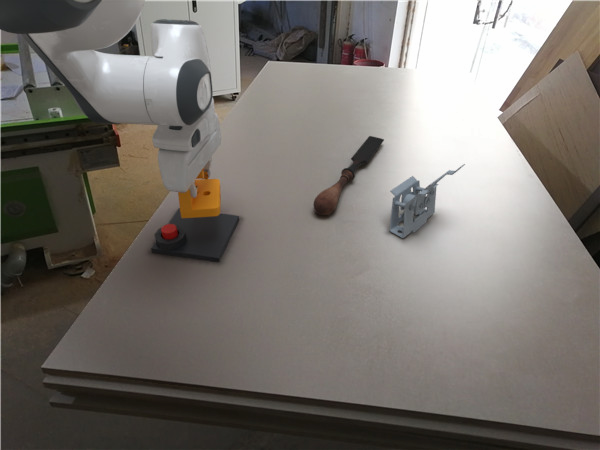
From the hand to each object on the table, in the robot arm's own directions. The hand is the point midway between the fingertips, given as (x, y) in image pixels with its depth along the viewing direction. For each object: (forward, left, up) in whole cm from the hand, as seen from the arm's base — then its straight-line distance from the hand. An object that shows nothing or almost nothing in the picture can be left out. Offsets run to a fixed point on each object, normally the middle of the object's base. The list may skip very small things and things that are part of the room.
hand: (199, 186), depth 79 cm
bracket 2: (+29, -35, -12) cm, 47 cm away
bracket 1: (0, 0, -5) cm, 5 cm away
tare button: (-7, +3, -9) cm, 12 cm away
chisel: (+39, -14, -12) cm, 43 cm away
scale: (-2, +1, -12) cm, 12 cm away
